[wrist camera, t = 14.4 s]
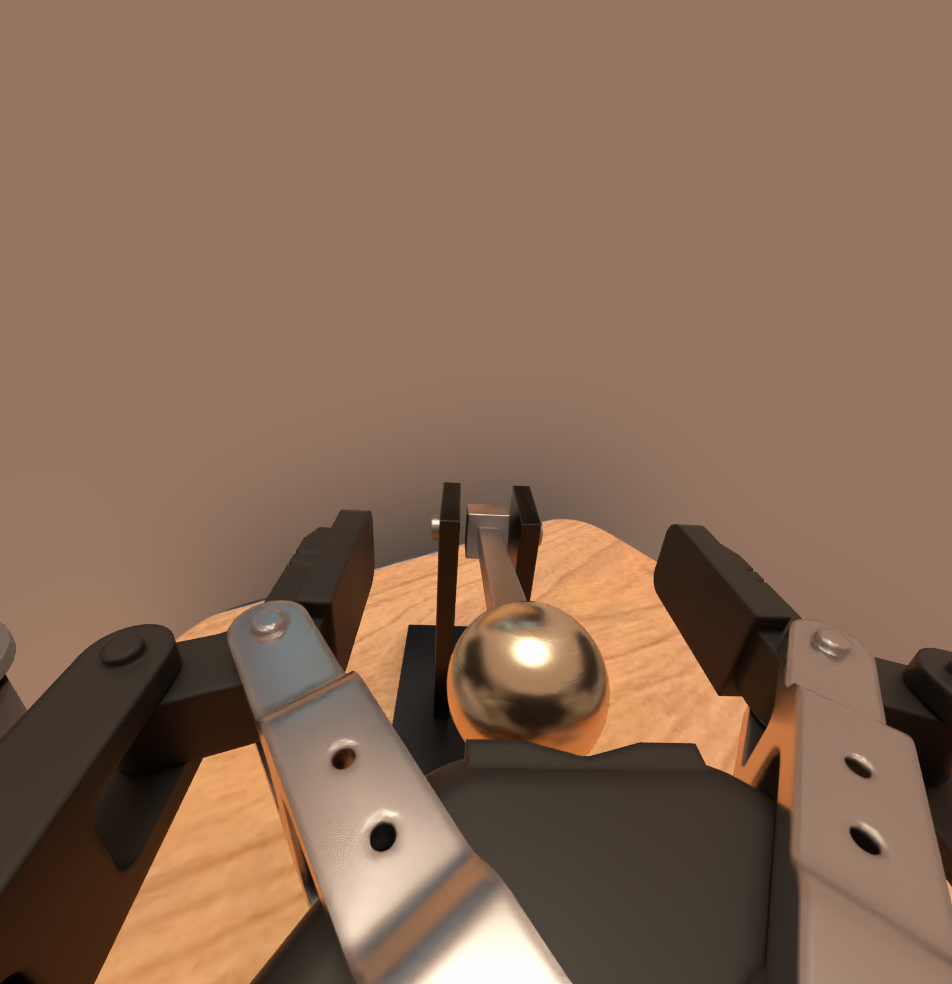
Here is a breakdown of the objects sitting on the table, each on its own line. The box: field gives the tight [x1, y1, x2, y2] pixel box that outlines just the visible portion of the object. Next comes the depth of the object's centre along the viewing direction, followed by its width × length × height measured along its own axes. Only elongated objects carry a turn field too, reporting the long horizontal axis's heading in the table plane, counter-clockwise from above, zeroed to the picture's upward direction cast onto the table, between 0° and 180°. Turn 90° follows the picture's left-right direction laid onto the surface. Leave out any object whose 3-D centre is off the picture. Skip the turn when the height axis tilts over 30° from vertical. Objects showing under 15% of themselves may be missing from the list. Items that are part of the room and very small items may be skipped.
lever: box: [447, 504, 610, 756], centre depth 16 cm, size 17×4×4 cm, turn 1°
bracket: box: [392, 482, 543, 776], centre depth 26 cm, size 12×10×16 cm
